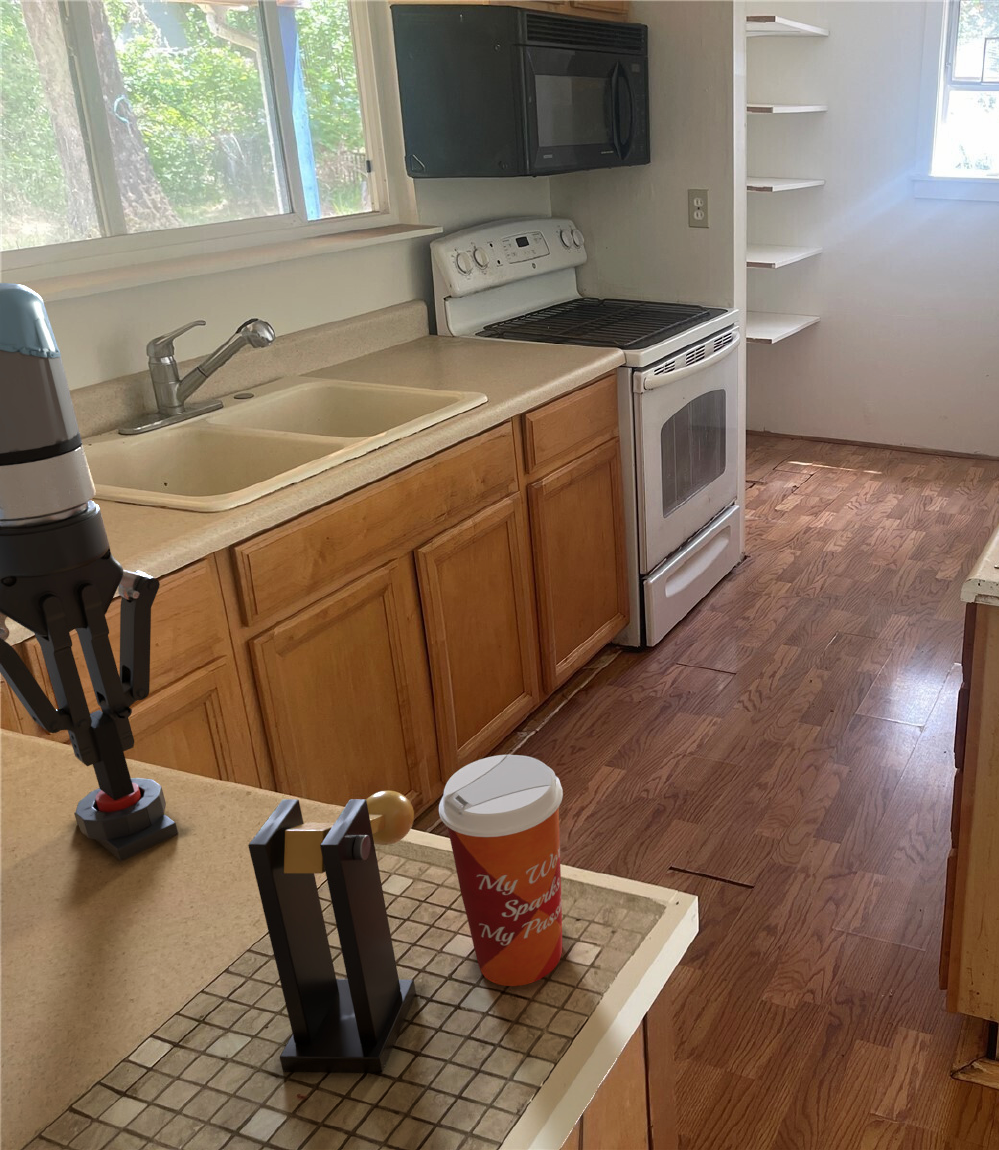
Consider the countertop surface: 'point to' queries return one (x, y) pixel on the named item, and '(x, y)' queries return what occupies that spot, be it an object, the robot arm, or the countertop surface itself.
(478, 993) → the countertop surface
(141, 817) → the button base
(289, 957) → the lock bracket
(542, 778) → the paper cup
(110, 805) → the set button
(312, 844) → the lever
